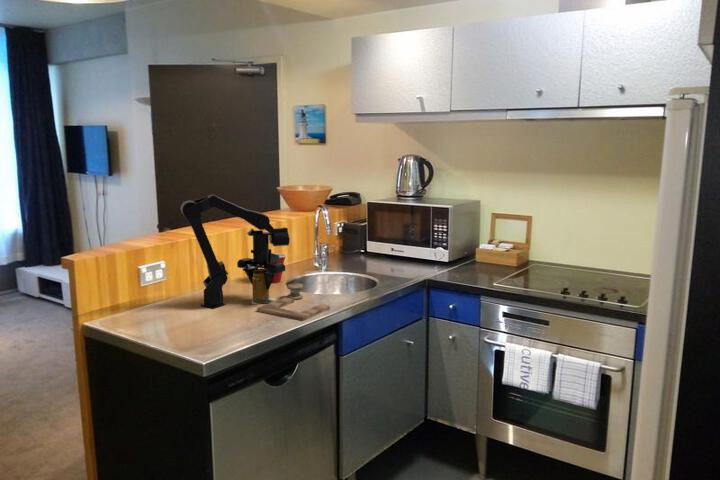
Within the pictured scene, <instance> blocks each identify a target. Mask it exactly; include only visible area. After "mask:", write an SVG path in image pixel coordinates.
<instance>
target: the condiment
mask: <svg viewBox="0 0 720 480" xmlns="http://www.w3.org/2000/svg"><path fill="white" fill-rule="evenodd" d="M265 272H267V270H266V269H264V268H258V269H255V270H254V271H253V278H252V283H251V285H252V299H251V302H250V304H253V305H257V304H260V305H261V304H269V303H272V302H275V301H276V298H275V297H270V288H269V289H268V290H267V289H266V284H265V278H264V273H265Z"/></svg>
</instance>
